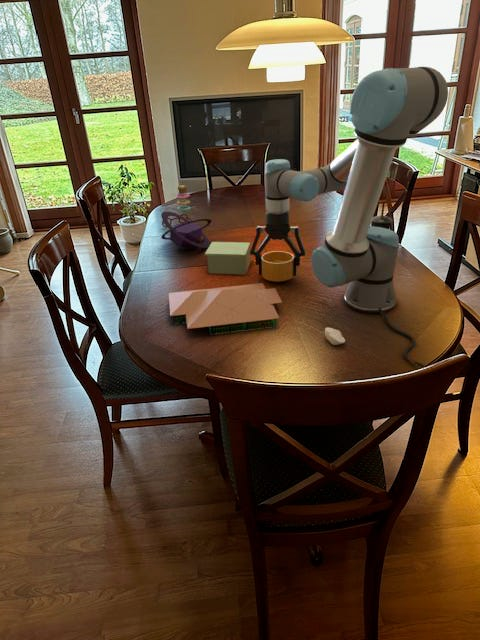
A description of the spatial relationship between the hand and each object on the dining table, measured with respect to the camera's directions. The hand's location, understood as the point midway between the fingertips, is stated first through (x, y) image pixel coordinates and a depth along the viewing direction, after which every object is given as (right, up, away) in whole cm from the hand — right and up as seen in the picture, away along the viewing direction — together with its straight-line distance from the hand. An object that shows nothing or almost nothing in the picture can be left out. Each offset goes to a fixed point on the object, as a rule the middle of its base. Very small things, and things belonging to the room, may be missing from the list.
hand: (277, 273), depth 152 cm
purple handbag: (-34, +14, +30) cm, 47 cm away
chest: (-17, +4, +11) cm, 20 cm away
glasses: (-40, +25, +50) cm, 68 cm away
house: (-17, -14, -19) cm, 29 cm away
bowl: (0, -1, 0) cm, 1 cm away
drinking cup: (+39, +9, +17) cm, 44 cm away
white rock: (+12, -22, -34) cm, 42 cm away
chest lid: (-17, +9, +8) cm, 21 cm away
